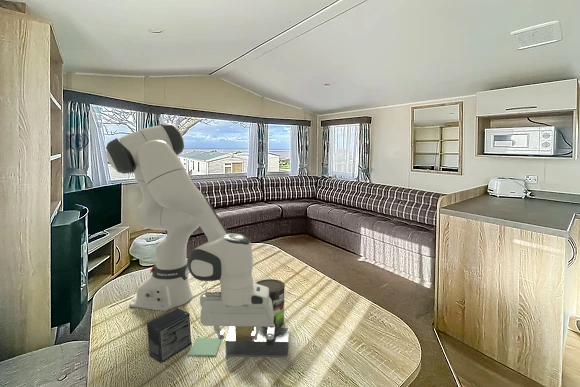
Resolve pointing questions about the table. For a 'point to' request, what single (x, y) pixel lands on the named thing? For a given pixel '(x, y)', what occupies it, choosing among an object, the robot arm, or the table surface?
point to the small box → (169, 334)
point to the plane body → (258, 344)
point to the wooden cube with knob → (243, 332)
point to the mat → (205, 347)
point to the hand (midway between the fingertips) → (237, 338)
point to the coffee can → (276, 299)
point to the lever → (270, 335)
